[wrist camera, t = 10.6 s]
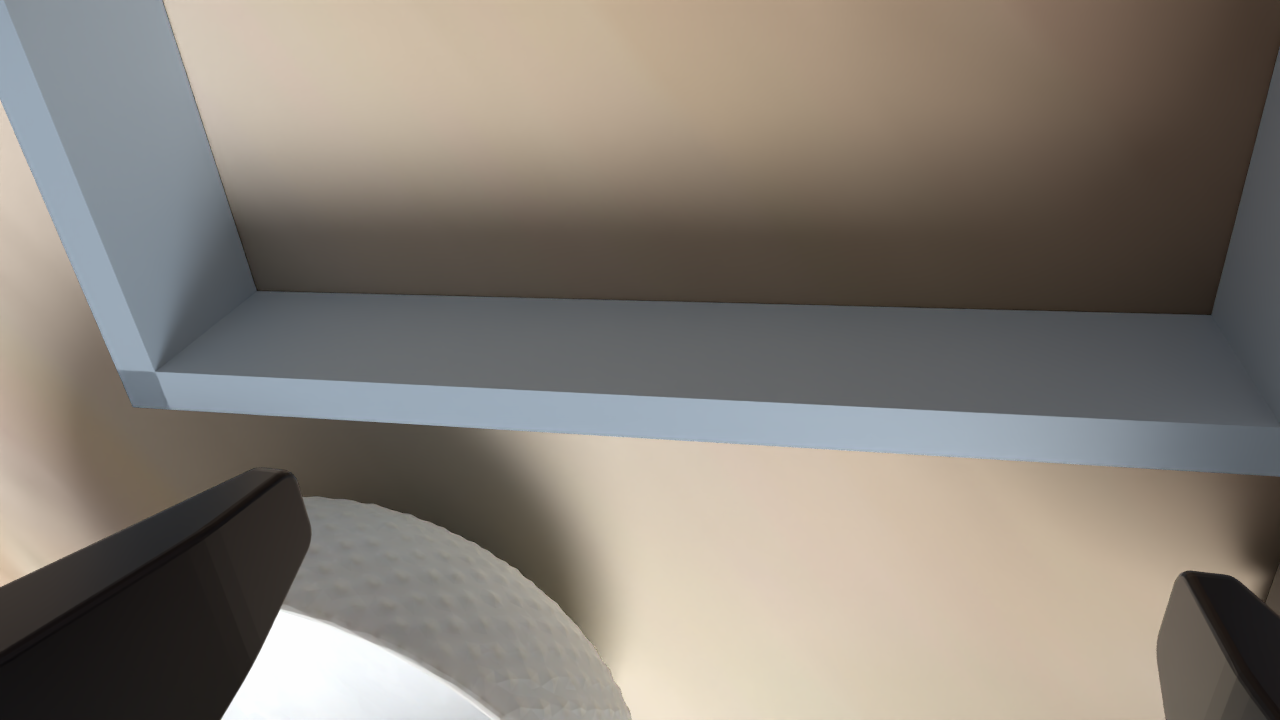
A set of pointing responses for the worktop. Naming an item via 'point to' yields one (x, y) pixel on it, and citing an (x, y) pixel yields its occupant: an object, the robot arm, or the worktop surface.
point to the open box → (603, 313)
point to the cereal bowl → (418, 633)
